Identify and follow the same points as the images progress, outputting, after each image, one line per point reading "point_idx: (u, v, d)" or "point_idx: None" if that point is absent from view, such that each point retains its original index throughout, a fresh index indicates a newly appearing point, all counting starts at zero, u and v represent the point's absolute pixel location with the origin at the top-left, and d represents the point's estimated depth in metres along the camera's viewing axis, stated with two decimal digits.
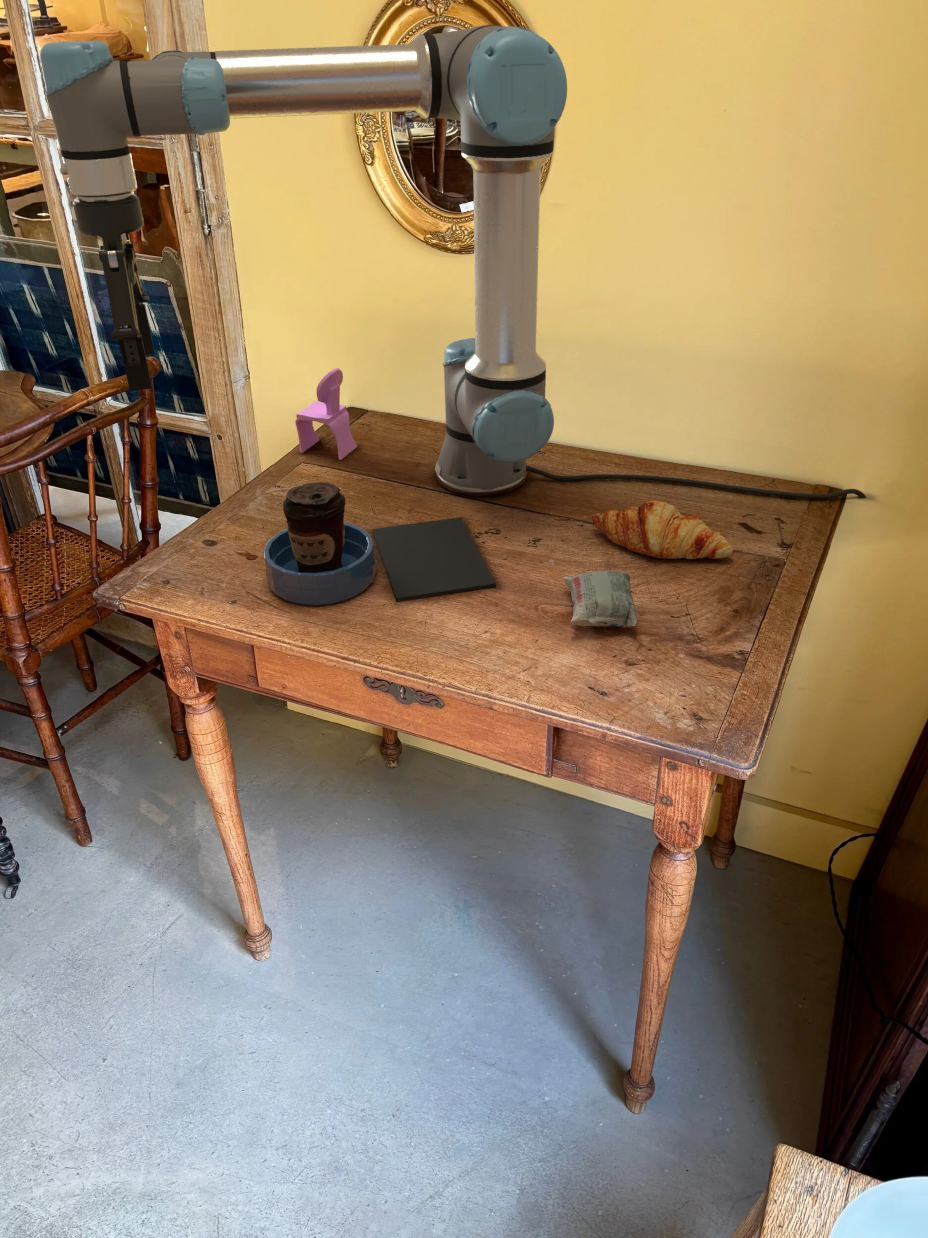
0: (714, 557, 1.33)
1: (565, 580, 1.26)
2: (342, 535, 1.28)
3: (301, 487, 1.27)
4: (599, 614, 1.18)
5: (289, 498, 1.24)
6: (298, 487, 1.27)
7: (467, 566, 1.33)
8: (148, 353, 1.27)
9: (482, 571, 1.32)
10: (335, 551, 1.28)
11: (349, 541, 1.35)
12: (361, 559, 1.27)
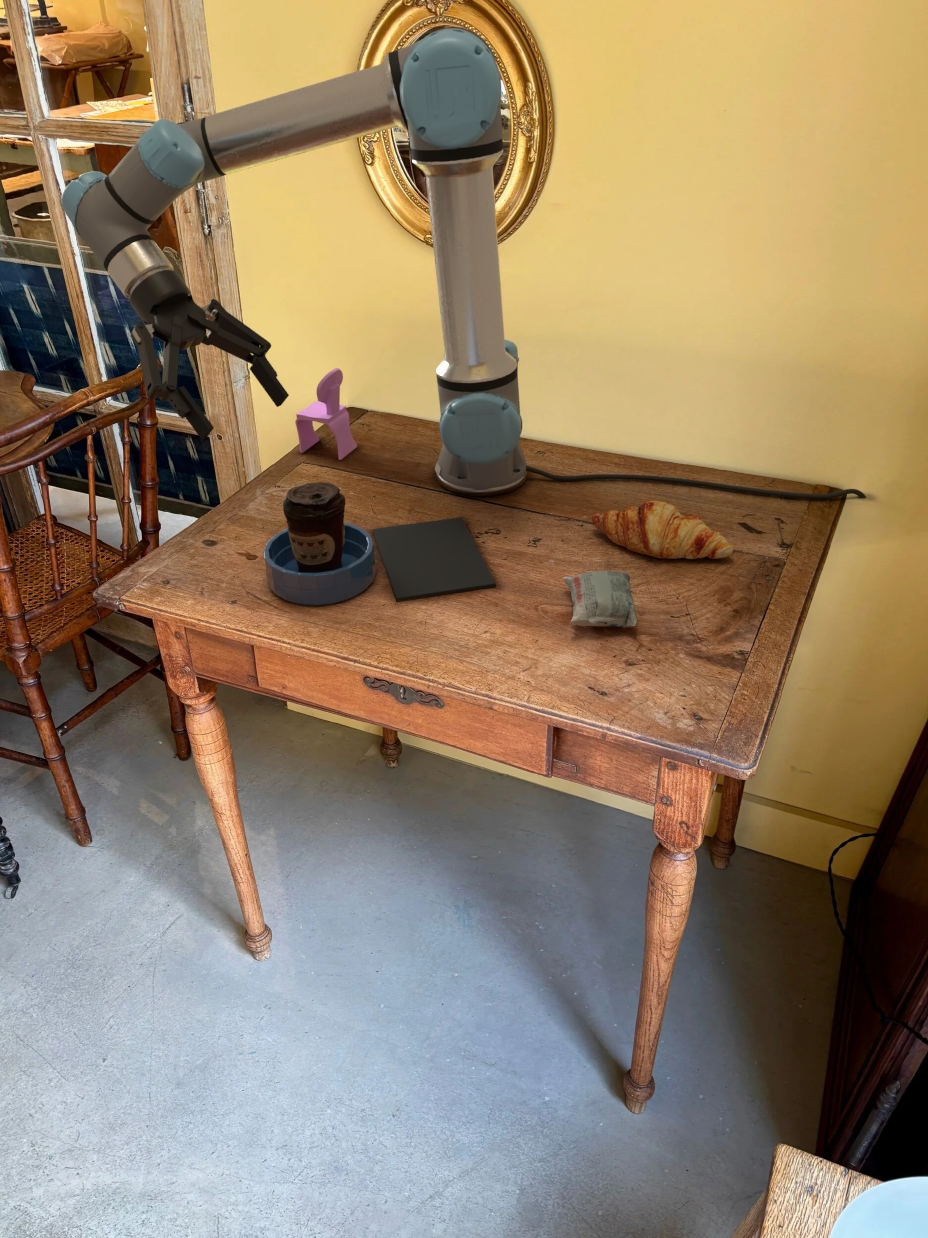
0: (714, 557, 1.33)
1: (565, 580, 1.26)
2: (342, 535, 1.28)
3: (301, 487, 1.27)
4: (599, 614, 1.18)
5: (289, 498, 1.24)
6: (298, 487, 1.27)
7: (467, 566, 1.33)
8: (281, 399, 1.29)
9: (482, 571, 1.32)
10: (335, 551, 1.28)
11: (349, 541, 1.35)
12: (361, 559, 1.27)
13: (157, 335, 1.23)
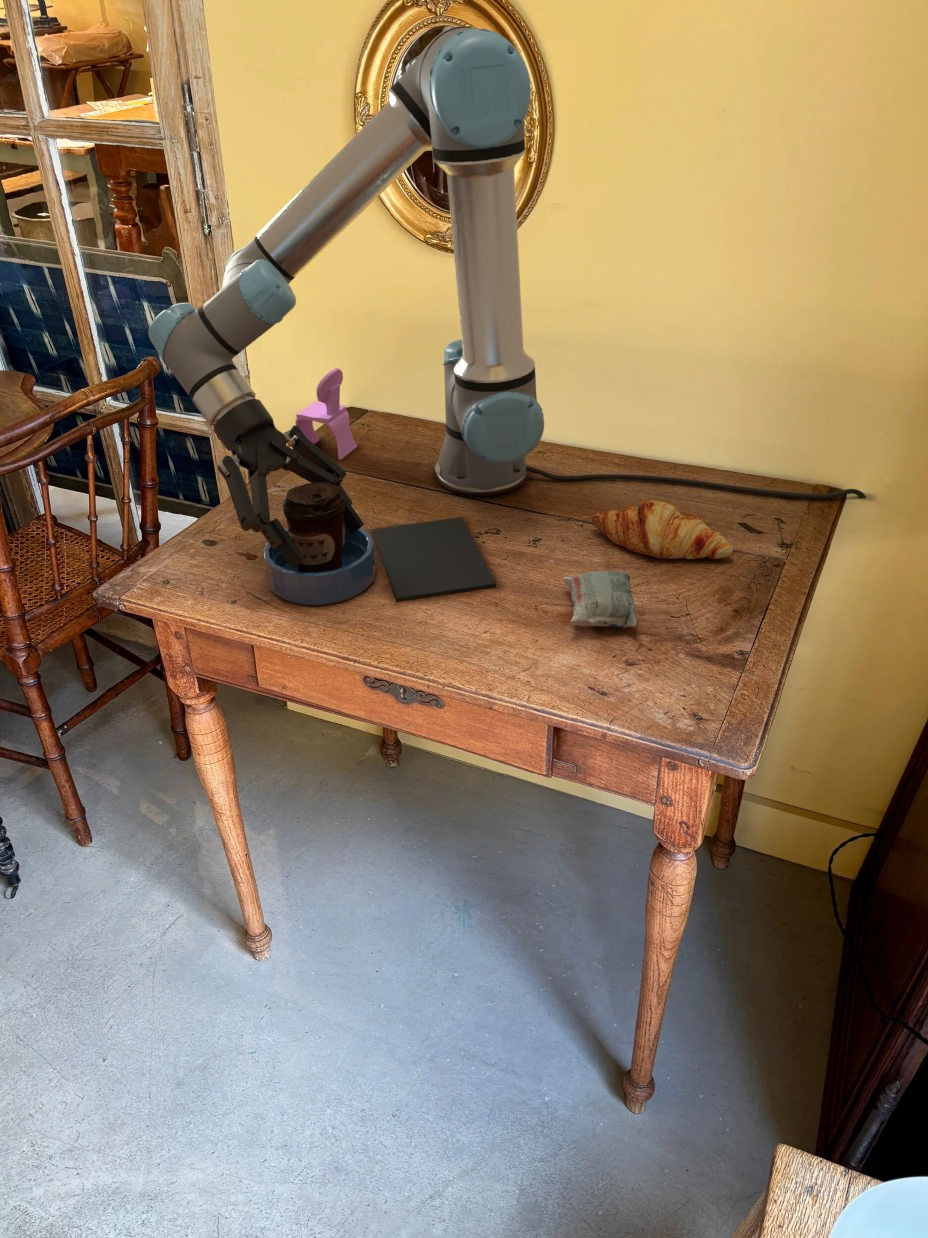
0: (714, 557, 1.33)
1: (565, 580, 1.26)
2: (342, 535, 1.28)
3: (301, 487, 1.27)
4: (599, 614, 1.18)
5: (289, 498, 1.24)
6: (298, 487, 1.27)
7: (467, 566, 1.33)
8: (357, 528, 1.31)
9: (482, 571, 1.32)
10: (335, 551, 1.28)
11: (349, 541, 1.35)
12: (361, 559, 1.27)
13: (241, 463, 1.24)
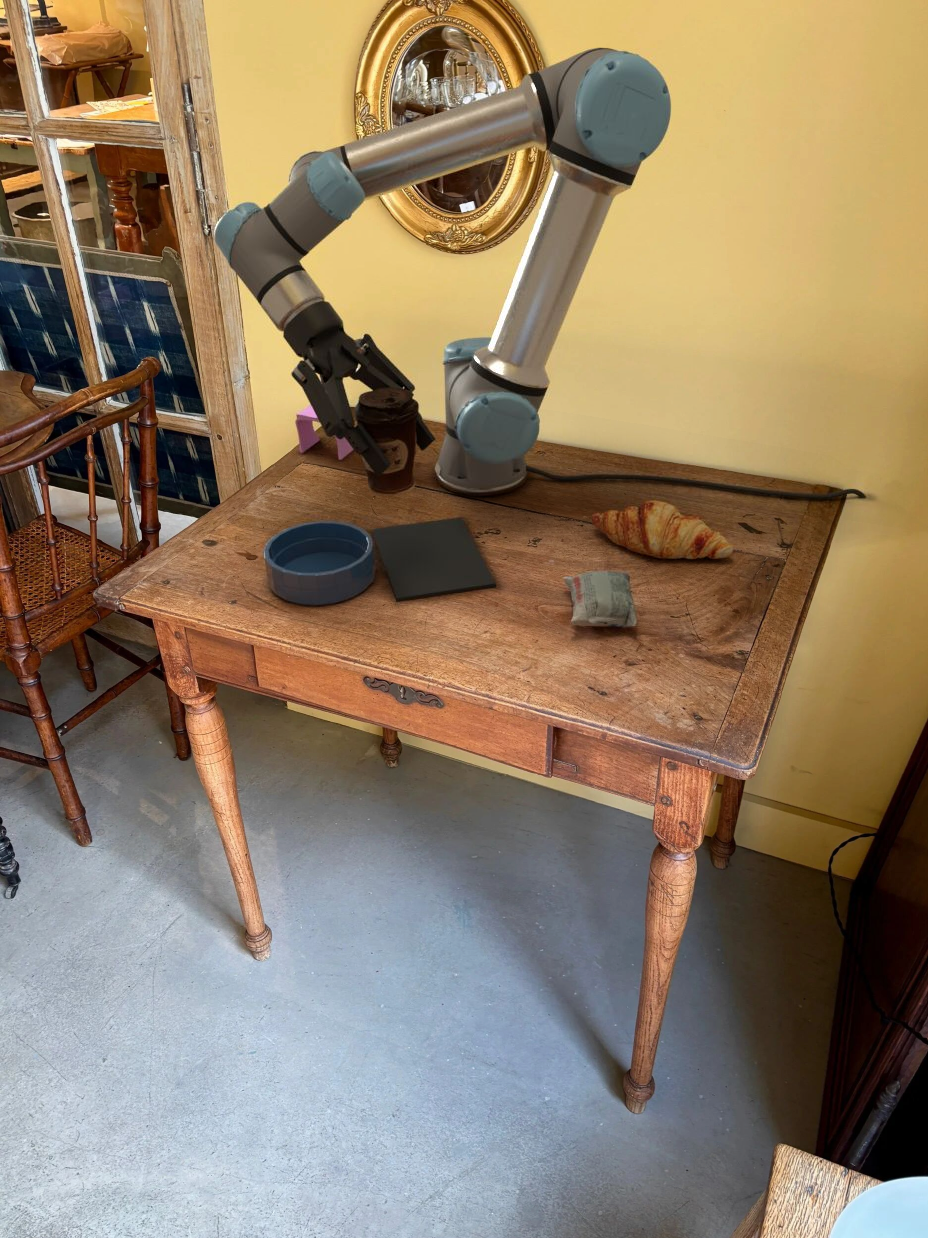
0: (714, 557, 1.33)
1: (565, 580, 1.26)
2: (415, 442, 1.24)
3: (372, 392, 1.22)
4: (599, 614, 1.18)
5: (362, 402, 1.19)
6: (369, 392, 1.22)
7: (467, 566, 1.33)
8: (428, 443, 1.26)
9: (482, 571, 1.32)
10: (408, 459, 1.24)
11: (349, 541, 1.35)
12: (361, 559, 1.27)
13: None
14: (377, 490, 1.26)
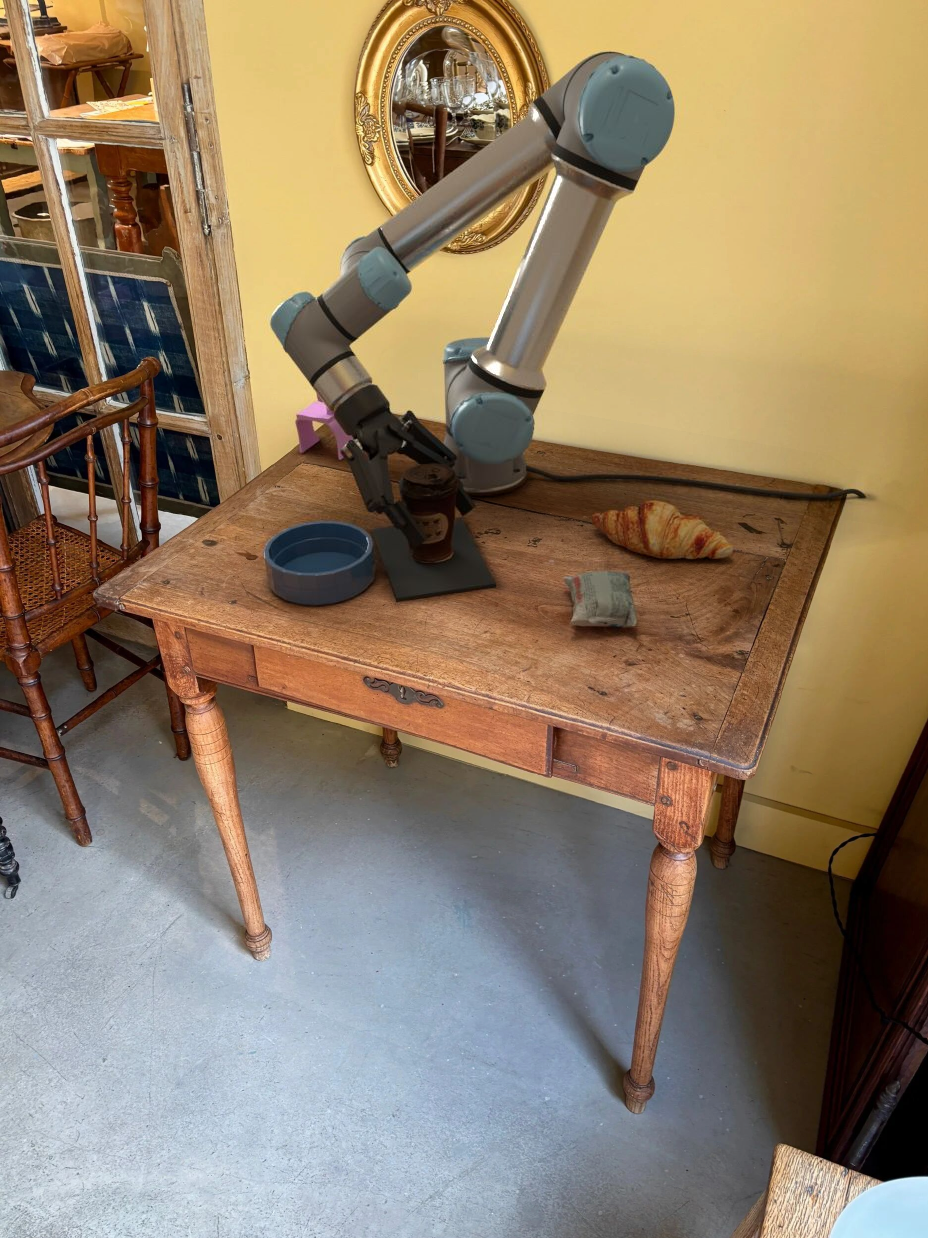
0: (714, 557, 1.33)
1: (565, 580, 1.26)
2: (454, 515, 1.32)
3: (416, 468, 1.30)
4: (599, 614, 1.18)
5: (407, 478, 1.27)
6: (413, 468, 1.30)
7: (467, 566, 1.33)
8: (469, 510, 1.34)
9: (482, 571, 1.32)
10: (447, 530, 1.32)
11: (349, 541, 1.35)
12: (361, 559, 1.27)
13: (361, 447, 1.28)
14: (418, 558, 1.34)
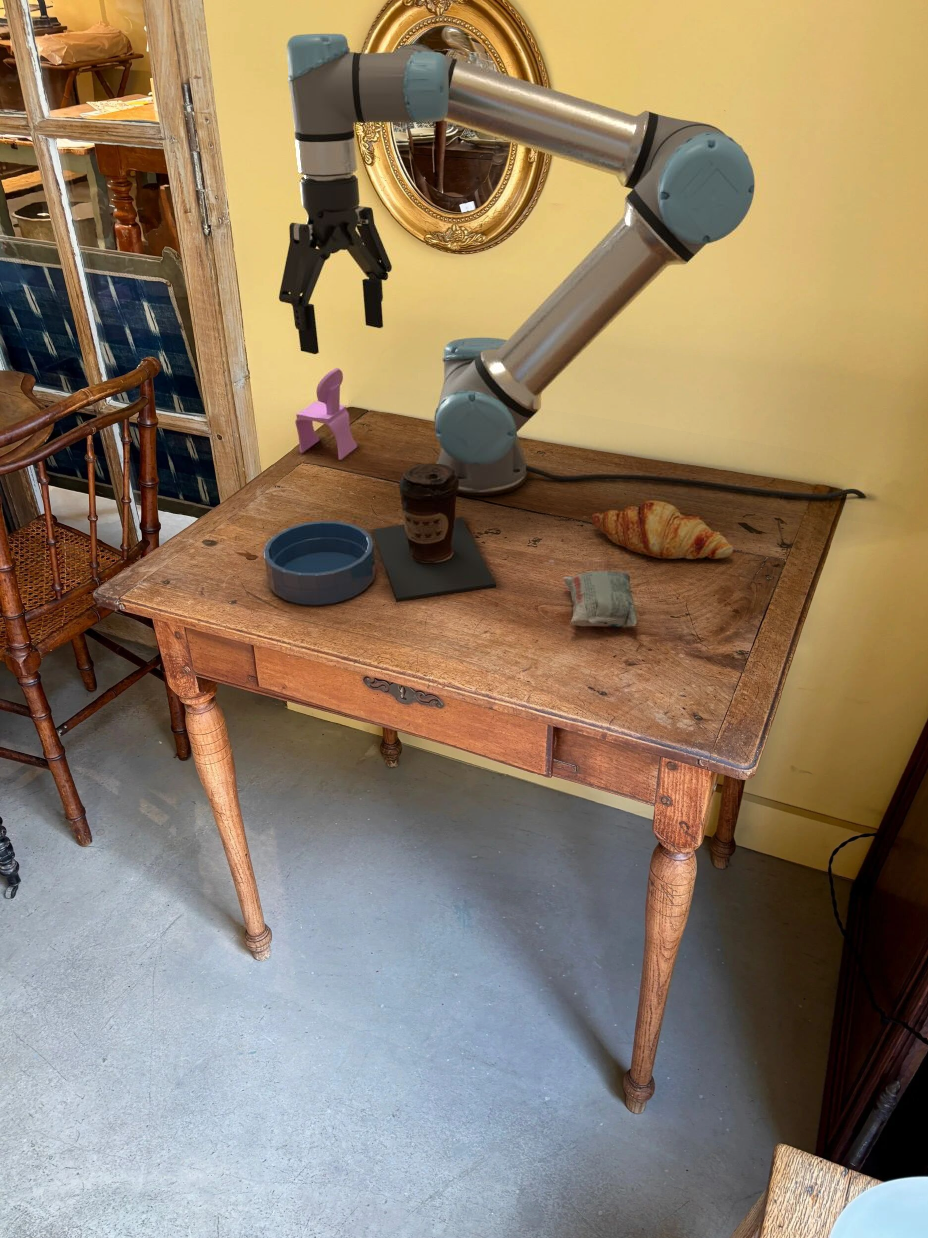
0: (714, 557, 1.33)
1: (565, 580, 1.26)
2: (454, 515, 1.32)
3: (416, 468, 1.30)
4: (599, 614, 1.18)
5: (407, 478, 1.27)
6: (413, 468, 1.30)
7: (467, 566, 1.33)
8: (375, 326, 1.37)
9: (482, 571, 1.32)
10: (447, 530, 1.32)
11: (349, 541, 1.35)
12: (361, 559, 1.27)
13: (311, 233, 1.22)
14: (418, 558, 1.34)
